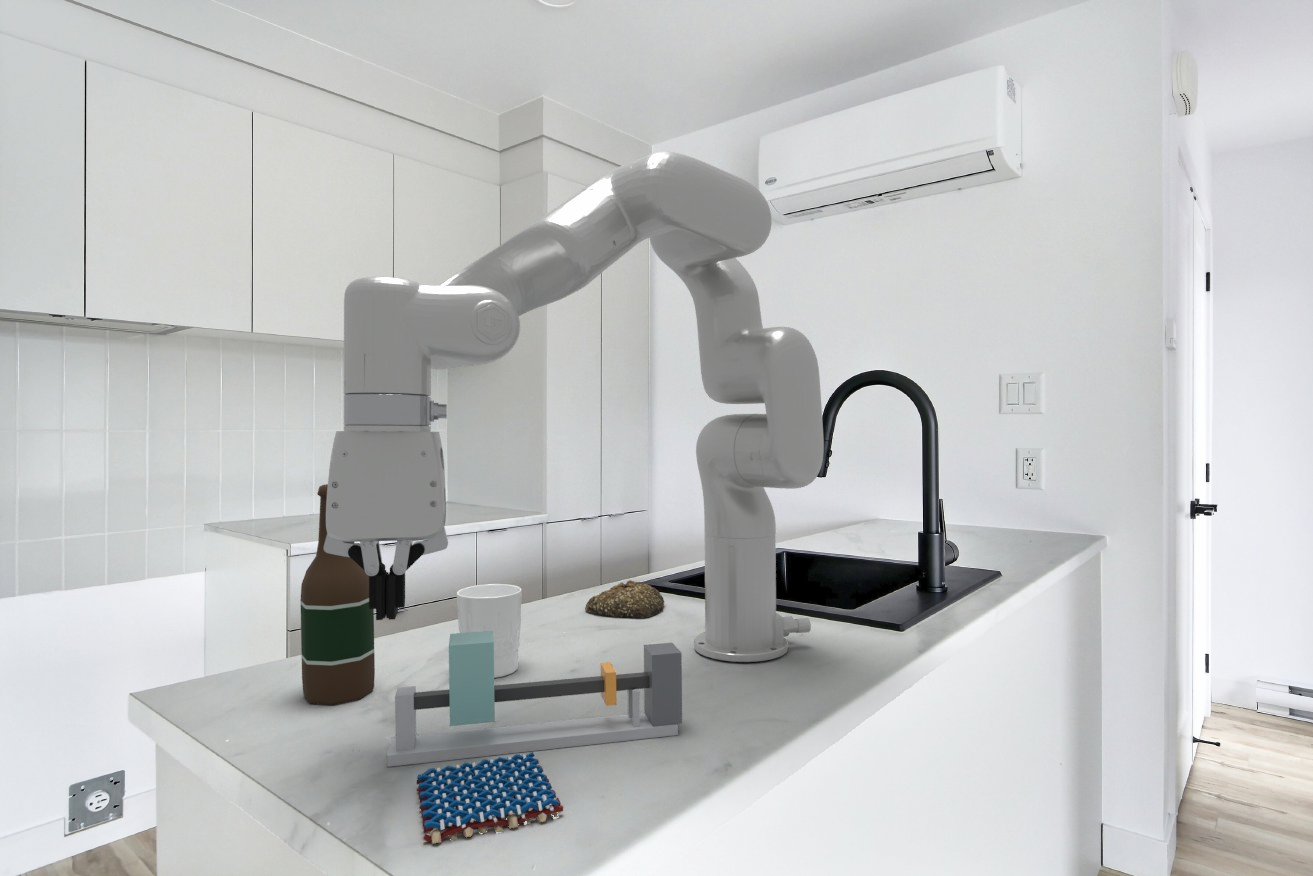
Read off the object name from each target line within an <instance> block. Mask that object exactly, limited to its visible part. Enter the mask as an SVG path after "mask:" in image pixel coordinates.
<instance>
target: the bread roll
mask: <svg viewBox="0 0 1313 876" xmlns="http://www.w3.org/2000/svg"><path fill="white" fill-rule="evenodd" d="M664 606H665V600H664V597H663V595H662V594H661V593H660V591H659V590H657V589H656V588H655V587H653V586H652V585H650V584H648V583H644V582H640V581H634V580H630V579H629V580H627V581H626V583H624V582H620V583H618V584H615V585H613V586H612V587H610V588H609V589H608V590H604V591H601V593H600V592H599V594H596V595H593V596H592V597H590V598H589V600H588V601H587V603H586V604H585V607H584V610H585V612H586V613H587V614H591V615H596V616H602V617H609V618H610V617H611V618H620V619H621V618H622V619H623V618H624V619H625V618H626V619H634V620H635V619H637V620H638V619H647V618H651V617H654V616H657V615H658V614H660V613H661V612H663V609H664Z"/></svg>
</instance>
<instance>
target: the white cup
mask: <svg viewBox="0 0 1313 876" xmlns="http://www.w3.org/2000/svg"><path fill="white" fill-rule="evenodd" d="M456 600H457V601H456V602H457V604H456V605H457V606H456V607H457V618H458V619H457V620H458V621H457V622H458V633H468V632H482V631H493V640H494V679H496V678H497V679H498V678H503V677H505V676H509V675H511V674H514V673H515V672H517V670H518V669H519V647H520V641H521V640H520V639H521V620H522V619H521V617H522V615H521V614H522V588H521V586H518V585H513V584H505V583H504V584H503V583H489V584H488V583H487V584H478V585H471V586H468V587H464V588H461V589H459V590H457V592H456Z"/></svg>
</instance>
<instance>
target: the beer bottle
mask: <svg viewBox="0 0 1313 876" xmlns="http://www.w3.org/2000/svg"><path fill="white" fill-rule="evenodd" d="M327 488H328V483H327V484H322V485H320V486H319V487H318V490H317V496H318V497H319V498H320V499H319V503H320V504H319V517H318V518H319V524H318V541H317V548H316V553H315V554H316V555H315V557H314V558H313V560H312V561H311V563H310V564H309V566H308V567H307V569H306V571H305V574H304V576H303V579H302V582H301V587H300V601H299V602H300V635H301V636H300V640H301V641H300V643H301V648H300V649H301V650H300V651H301V680H302V682H301V684H302V693H303V696H304V697H305V699H306V700H307V701H308V703H309V704H310V705H319V706H321V705H322V706H325V705H326V706H336V705H341V704H346V703H349V702H350V703H351V702H354V701H359V700H361V699H362V698H364V697H365V696H368V695H369V694H370V693H372V692H373V691H374V689H375V679H376V678H375V676H376V675H375V670H376V669H375V667H376V666H375V660H376V658H375V622H374V621H375V620H374V619H375V618H374V615H375V609H369V575H367V574H366V573H365V570H364V569H362V568H361V567H360V566H359V565H358V564H357V563H356V562H355V561H354V560H353V559H351V558H350V557H346V556H345V557H344V556H339V555H334V554H329V553H326V552H325V551H324V543H325V540H326V536H327V530H326V501H327ZM353 543H355V542H353Z"/></svg>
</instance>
